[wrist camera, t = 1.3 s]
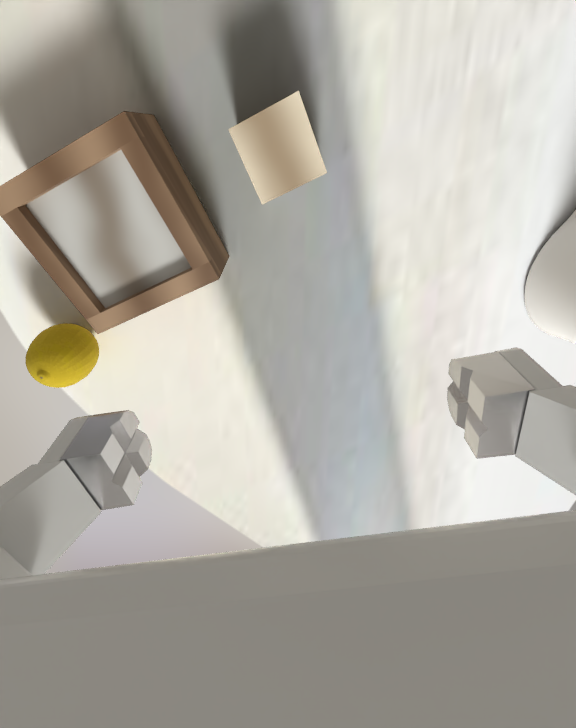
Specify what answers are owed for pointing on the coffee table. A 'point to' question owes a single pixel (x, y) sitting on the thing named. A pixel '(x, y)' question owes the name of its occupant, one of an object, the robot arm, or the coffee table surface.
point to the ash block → (279, 148)
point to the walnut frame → (115, 222)
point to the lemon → (62, 355)
